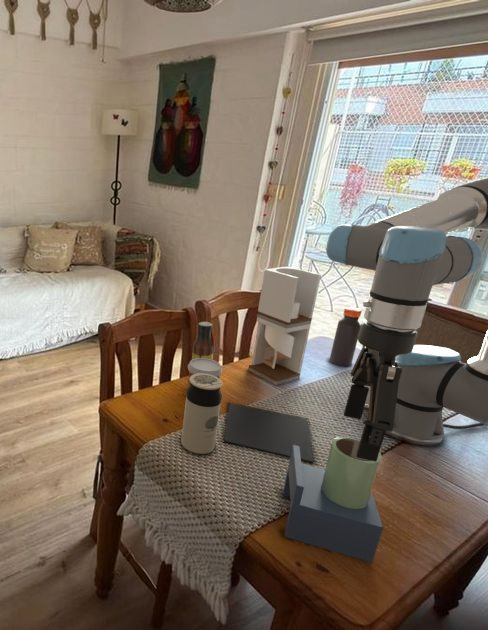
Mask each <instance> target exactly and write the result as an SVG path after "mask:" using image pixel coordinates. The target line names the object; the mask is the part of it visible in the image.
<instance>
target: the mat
mask: <svg viewBox="0 0 488 630" xmlns="http://www.w3.org/2000/svg"><path fill="white" fill-rule="evenodd" d="M226 419H227V420H226V427H225V432H224V439H223V440H224V441H223V442H224V443H226V444H227V443H228V444H231V445H232V444H233V445H236V446H239V447H244V448H249V449H253V450H256V451H260V452H265V453H270V454H274V455H277V456H282V457H287V458H290V456H291V451H292V447H293V445H296V446H299V448H300V456H301V461H304V462H307V463H311V464H313V463H314V456H313V455H314V454H313V449H312V444H311V437H310V436H311V435H310V431H309V424H308V418H306V417H301V416H296V415H291V414H287V413H283V412H276V411H272V410H267V409H262V408H258V407H252V406H248V405H243V404H237V403H233V402H229V406H228V413H227V418H226Z"/></svg>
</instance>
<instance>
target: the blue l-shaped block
mask: <svg viewBox="0 0 488 630" xmlns="http://www.w3.org/2000/svg"><path fill="white" fill-rule="evenodd" d="M324 472H325V469H324V468H321V467H316V466H313V465H312V466H311V465H308V464H304V463H302V460H301V456H300V448H299V446H296V445H293V447H292V451H291V456H290V457H289V461H288V465H287V470H286V474H285V475H286V476H285V478H284V483H283V489H282V496H283V497H287V498H290V507H289V512H288V517H287V521H286V525H285V530H284V538H287V539H291V540H294V541H298V542H300V543H305V544H307V545H310V546H315V547H318V548H320V549H323V550H327V551H331V552H334V553H337V554H340V555H344V556H348V557H351V558H354V559H358V560H361V561H364V562H367V563H371V564H372V563H373V561H374V558H375V555H376V552H377V549H378V545H379V543H380V539H381V536H382V533H383V530H384V525H383V522H382V518H381V515H380V512H379V510H378V507H377V503H376V500H375V497H374V495H373V491H372V492H371V495H370V498H369V501H368V505H367V506H366V507H364V508H362V509H351V508H346V507H343V506H341V505H338V504H336V503H334V502H333V501H331V500H330V499H329V498H327V497H326V496H325V494H324V493H323V492H322V489H321V484H322V480H323V476H324Z"/></svg>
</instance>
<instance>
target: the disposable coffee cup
mask: <svg viewBox="0 0 488 630" xmlns="http://www.w3.org/2000/svg"><path fill="white" fill-rule="evenodd" d="M187 369H188V383H189V384H188V385H189V386H190V385H191V383H190V380H189V378H190V377H191V376H192V375H194V374H199V373H203V374H210V375H213V376H216V377H218V378H219V379H220V376H221V375H222V373H223V368H222V365H221V364H220V363H219V362H218V361H216V360H214V359H213V360H211V359H206V358H196V359H193V360H192V359H191V360H190V361H189V363H188V364H187ZM189 386H188V387H189Z"/></svg>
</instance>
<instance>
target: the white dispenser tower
mask: <svg viewBox="0 0 488 630" xmlns="http://www.w3.org/2000/svg"><path fill="white" fill-rule="evenodd" d="M321 276H322V274H321V273H317V272H312V271H309V270H305V269H301V268H297V267H294V266H293V267H292V266H289V265H287V266H281V267H280V266H279V267H271V268H266V269H264V273H263V279H262V284H261V290H260V296H259V302H258V308H257V314H256V321H255V322H258V323H257V324H258V325H257V329H256V336H255V342H254V348H253V354H252V360H251V364H248V368H247V371H249V372H251V373H252V374H254V375H256V376H258V377H260V378H262V379H264V380H266V381H267V382H269V383H271V384H274V385H275V386H277V385H282V384H285V383H288V382H292V381H296V380H299V379H300V377H301V373H302V368H303V363H304V359H305V358H304V357H305V354H306V349H307V343H308V339H309V335H310V329H311V326H312V325H311V324H312V320H313V315H314V311H315V306H316V301H317V295H318V291H319V287H320V282H321Z"/></svg>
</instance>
